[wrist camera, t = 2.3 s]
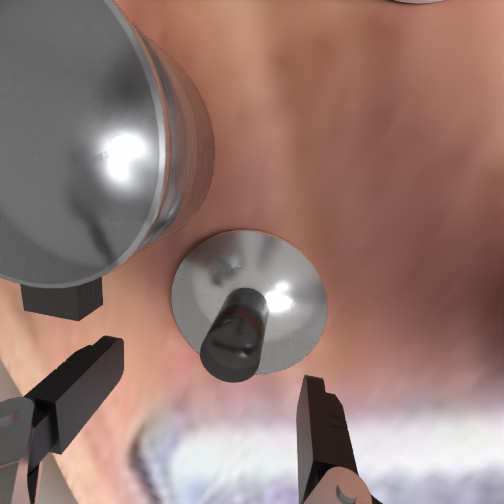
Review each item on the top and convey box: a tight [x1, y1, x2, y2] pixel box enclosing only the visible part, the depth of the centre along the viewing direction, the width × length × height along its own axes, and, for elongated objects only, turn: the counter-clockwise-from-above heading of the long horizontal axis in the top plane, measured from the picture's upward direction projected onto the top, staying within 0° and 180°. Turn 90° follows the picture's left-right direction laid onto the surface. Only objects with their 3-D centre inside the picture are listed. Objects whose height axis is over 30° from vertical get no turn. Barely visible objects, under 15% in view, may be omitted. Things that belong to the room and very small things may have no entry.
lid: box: [171, 229, 327, 383], centre depth 16 cm, size 10×10×6 cm
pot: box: [0, 0, 215, 321], centre depth 14 cm, size 19×14×7 cm
